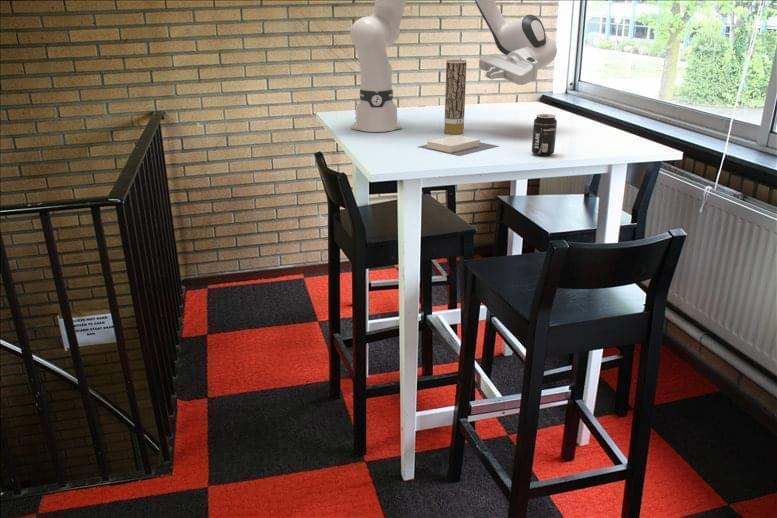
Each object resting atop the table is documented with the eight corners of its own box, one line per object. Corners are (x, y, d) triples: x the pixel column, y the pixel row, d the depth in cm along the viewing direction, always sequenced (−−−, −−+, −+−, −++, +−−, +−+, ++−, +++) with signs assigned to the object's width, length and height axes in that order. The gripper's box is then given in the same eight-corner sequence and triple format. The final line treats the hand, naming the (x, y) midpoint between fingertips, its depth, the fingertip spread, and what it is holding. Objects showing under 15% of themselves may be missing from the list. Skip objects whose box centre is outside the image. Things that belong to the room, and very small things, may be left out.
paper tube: (441, 135, 231) (443, 61, 222) (447, 131, 237) (449, 59, 228) (460, 136, 229) (463, 61, 220) (465, 132, 235) (468, 59, 225)
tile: (456, 135, 218) (427, 141, 209) (479, 139, 211) (450, 146, 202) (456, 142, 219) (426, 148, 210) (479, 146, 212) (450, 153, 203)
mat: (457, 139, 225) (457, 137, 225) (499, 147, 213) (500, 146, 213) (416, 148, 212) (416, 146, 212) (459, 157, 200) (459, 156, 200)
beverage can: (531, 151, 207) (534, 113, 203) (553, 152, 206) (557, 113, 201) (531, 156, 201) (534, 117, 196) (554, 157, 200) (557, 117, 195)
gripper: (496, 46, 227) (466, 57, 221) (541, 63, 214) (511, 76, 208) (495, 63, 231) (466, 75, 225) (539, 81, 218) (509, 94, 212)
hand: (488, 76), depth 216 cm, fingers closed
